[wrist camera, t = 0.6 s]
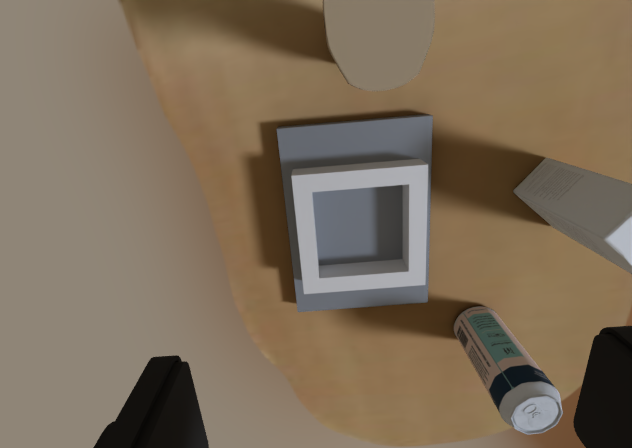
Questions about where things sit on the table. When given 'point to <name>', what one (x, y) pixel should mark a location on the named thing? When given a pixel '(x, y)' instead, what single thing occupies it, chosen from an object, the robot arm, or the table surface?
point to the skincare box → (583, 207)
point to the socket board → (358, 210)
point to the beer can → (508, 372)
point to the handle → (379, 40)
